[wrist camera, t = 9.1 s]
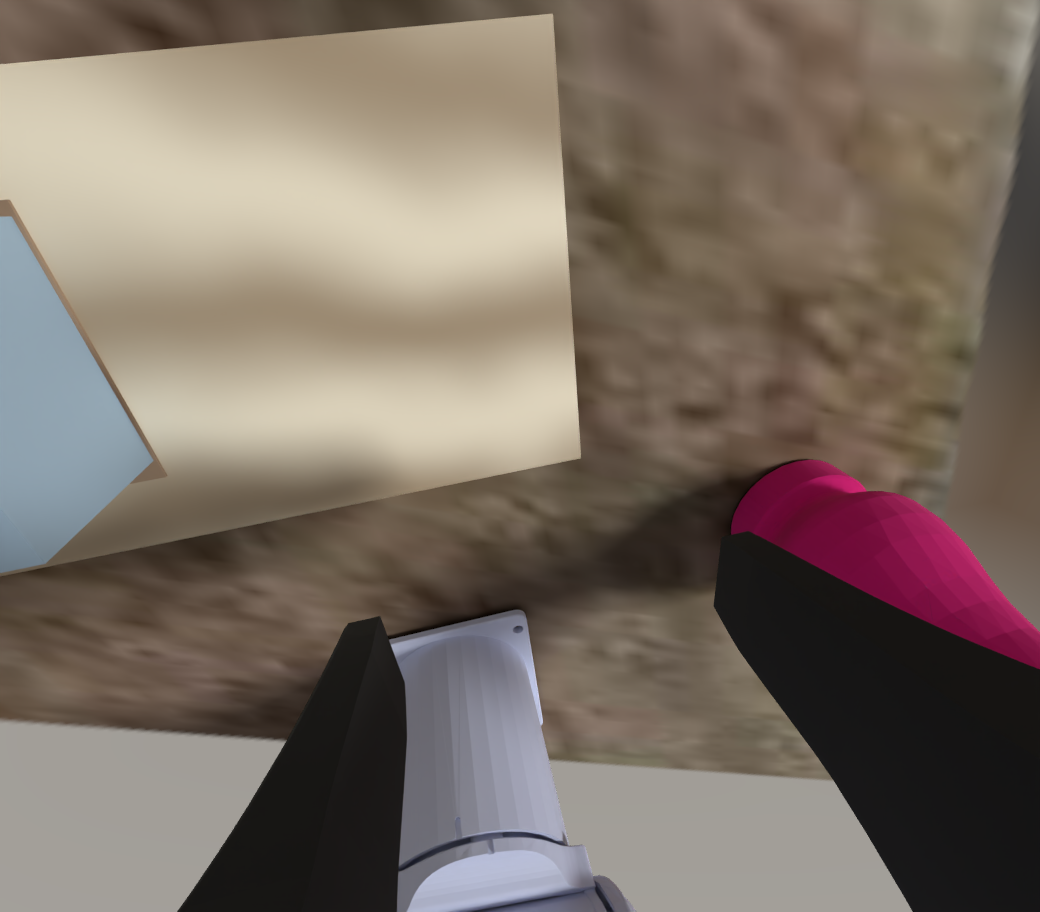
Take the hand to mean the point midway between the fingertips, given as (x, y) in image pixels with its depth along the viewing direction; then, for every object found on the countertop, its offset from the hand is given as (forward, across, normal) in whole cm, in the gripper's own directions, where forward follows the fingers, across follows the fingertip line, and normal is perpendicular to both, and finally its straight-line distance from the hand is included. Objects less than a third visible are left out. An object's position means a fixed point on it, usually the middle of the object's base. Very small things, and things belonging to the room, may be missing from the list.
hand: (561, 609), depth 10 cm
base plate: (+10, +8, -5) cm, 14 cm away
